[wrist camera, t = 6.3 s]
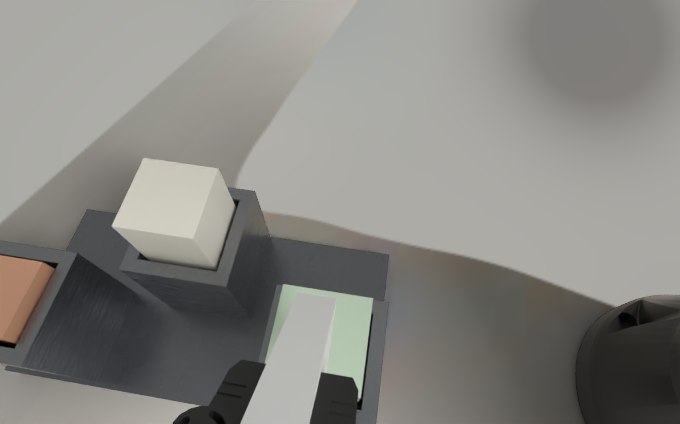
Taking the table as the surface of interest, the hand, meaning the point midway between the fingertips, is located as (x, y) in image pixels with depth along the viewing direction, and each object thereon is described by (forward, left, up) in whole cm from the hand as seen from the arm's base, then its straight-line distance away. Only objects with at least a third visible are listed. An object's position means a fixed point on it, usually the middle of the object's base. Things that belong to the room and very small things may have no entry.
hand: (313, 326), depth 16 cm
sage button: (0, 0, -12) cm, 12 cm away
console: (+9, -3, -17) cm, 20 cm away
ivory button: (+9, -6, -12) cm, 16 cm away
